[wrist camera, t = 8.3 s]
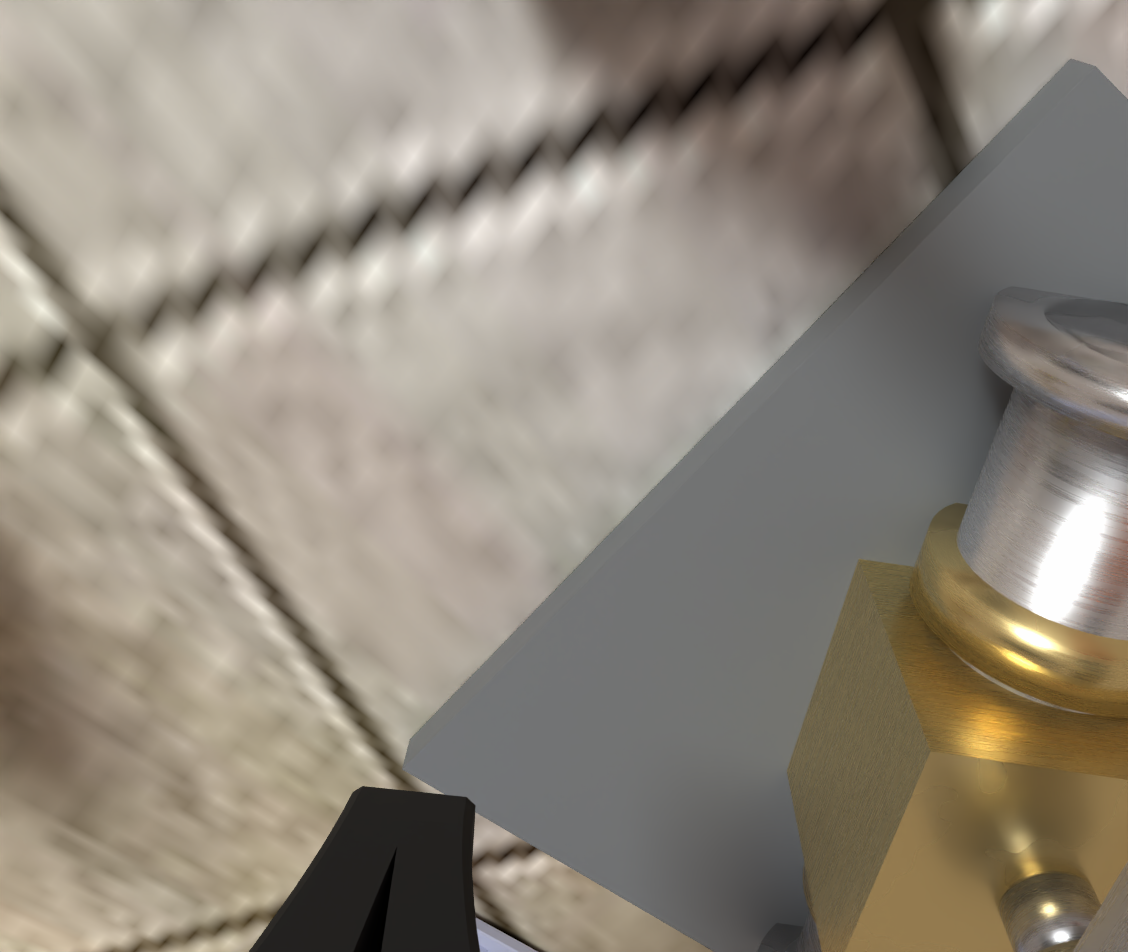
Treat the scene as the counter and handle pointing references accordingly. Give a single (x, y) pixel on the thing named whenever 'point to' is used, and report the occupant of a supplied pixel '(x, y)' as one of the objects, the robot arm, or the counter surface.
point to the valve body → (985, 679)
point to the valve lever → (1104, 924)
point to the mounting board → (777, 549)
